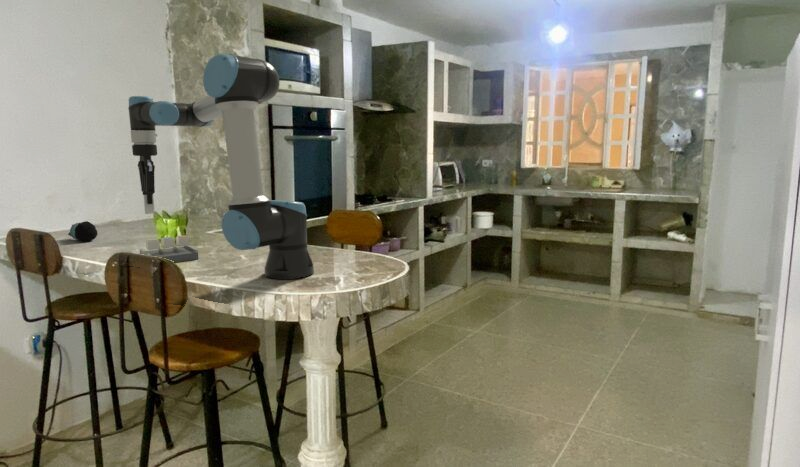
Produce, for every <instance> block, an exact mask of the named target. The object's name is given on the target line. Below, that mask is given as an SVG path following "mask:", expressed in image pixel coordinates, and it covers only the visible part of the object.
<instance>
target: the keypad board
mask: <svg viewBox="0 0 800 467" xmlns="http://www.w3.org/2000/svg"><path fill="white" fill-rule="evenodd" d="M198 249H199V248H196V247H193V246H191V245H188V246H177V247H176V246H175V247H171V248H162V249H161V248H160V249H154V250H144V249H143V248H139V255H140V254H144V255H149V256H157V257H162V258H166V259H169V260H172V261H174V262H175V263H180V262H189V261H196V260H197V261H198V260H199V250H198Z"/></svg>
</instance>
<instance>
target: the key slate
mask: <svg viewBox="0 0 800 467" xmlns="http://www.w3.org/2000/svg"><path fill="white" fill-rule="evenodd" d="M160 246H161V247H162V249H168V248H173V247H176V238H174V237H172V236H166V237H162V238H160Z"/></svg>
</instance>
